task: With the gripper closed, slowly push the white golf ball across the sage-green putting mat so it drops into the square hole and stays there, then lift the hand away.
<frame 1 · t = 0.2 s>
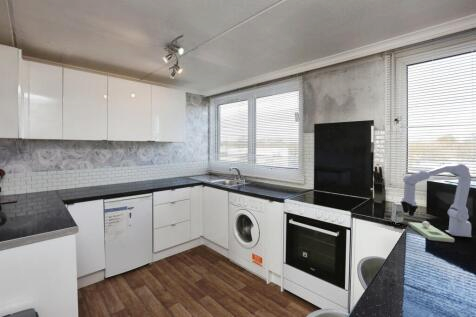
hand: (408, 214, 149), 10 cm above the counter, tool pointing down, fingers open, 7 cm apart
syrup box: (397, 223, 160), on the counter
golf ball: (425, 224, 146), point 4 cm above the counter, touching putting mat
putting mat: (428, 232, 142), on the counter
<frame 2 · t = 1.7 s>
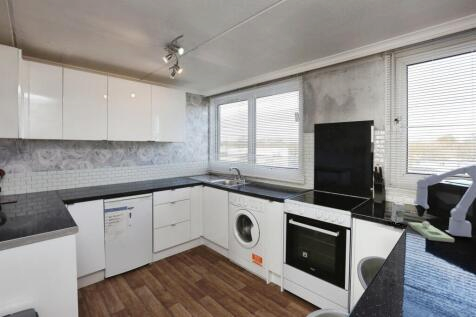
hand: (420, 216, 153), 7 cm above the counter, tool pointing down, fingers closed
nothing on the counter moved.
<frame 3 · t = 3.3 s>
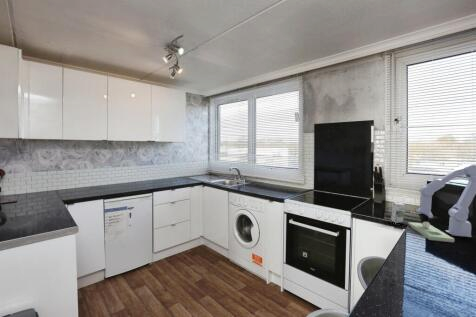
hand: (423, 225, 148), 3 cm above the counter, tool pointing down, fingers closed, pressing on golf ball
golf ball: (426, 224, 146), point 4 cm above the counter, tilted 12°, touching gripper, putting mat
everything else where it was.
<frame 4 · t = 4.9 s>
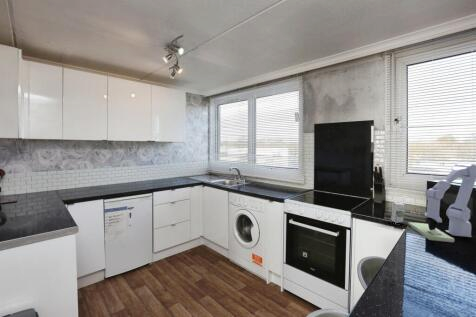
hand: (431, 230, 139), 3 cm above the counter, tool pointing down, fingers closed
golf ball: (435, 233, 137), point 2 cm above the counter, tilted 51°, touching gripper
everything else where it was.
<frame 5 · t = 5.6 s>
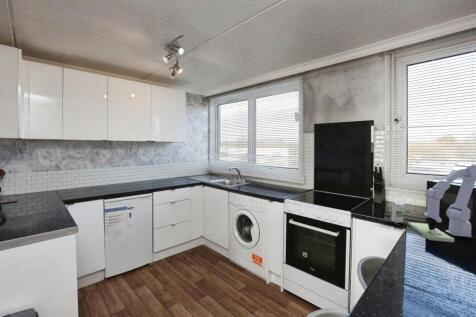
hand: (431, 230, 140), 3 cm above the counter, tool pointing down, fingers closed
nothing on the counter moved.
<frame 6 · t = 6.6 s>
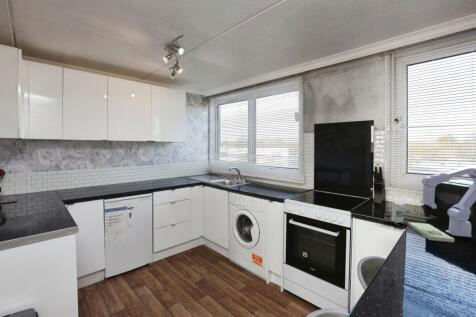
hand: (427, 216, 145), 9 cm above the counter, tool pointing down, fingers closed
golf ball: (435, 233, 137), point 2 cm above the counter, tilted 47°
everything else where it was.
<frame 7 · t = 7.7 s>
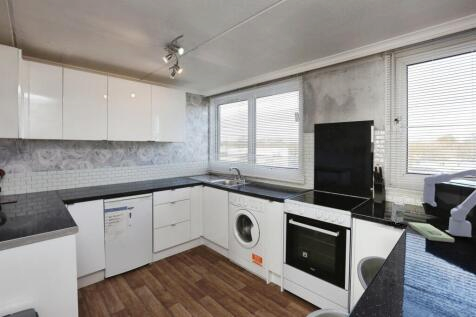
hand: (427, 214, 150), 9 cm above the counter, tool pointing down, fingers closed
golf ball: (435, 233, 137), point 2 cm above the counter, tilted 37°
everything else where it was.
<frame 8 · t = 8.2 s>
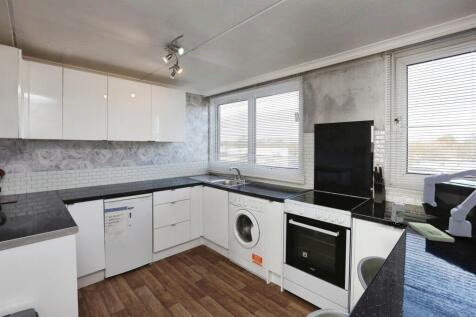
hand: (427, 214, 150), 9 cm above the counter, tool pointing down, fingers closed
nothing on the counter moved.
at the end: golf ball 0.6 cm from the target spot, point 2.0 cm above the counter; golf ball point 2.0 cm above the counter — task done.
